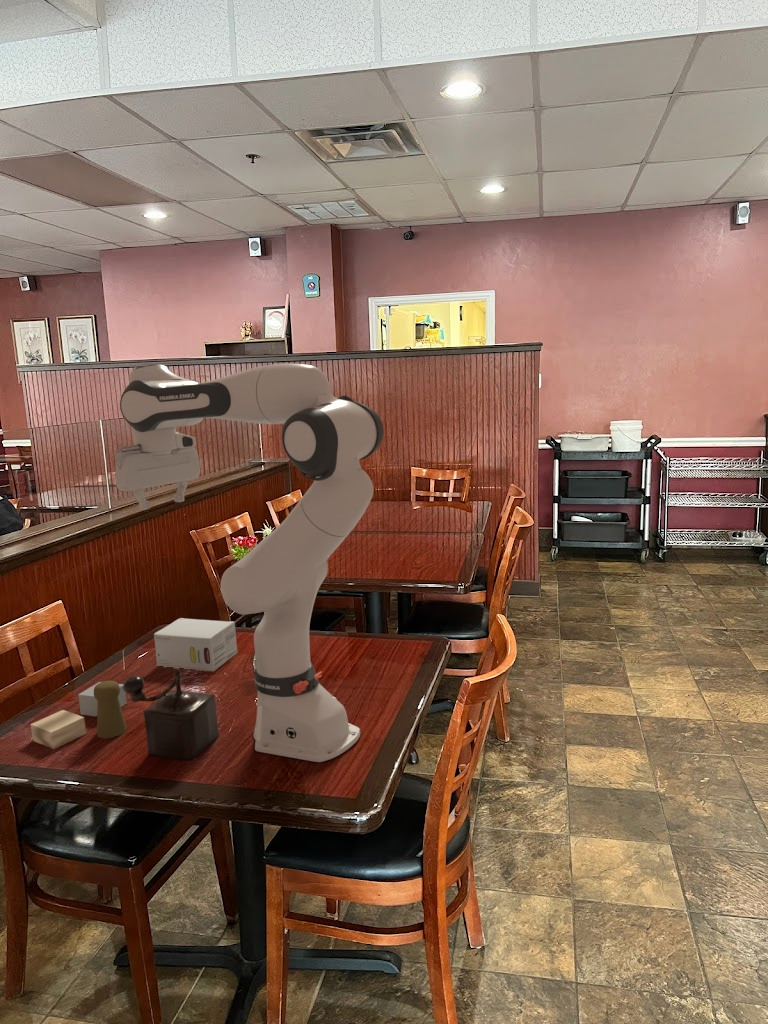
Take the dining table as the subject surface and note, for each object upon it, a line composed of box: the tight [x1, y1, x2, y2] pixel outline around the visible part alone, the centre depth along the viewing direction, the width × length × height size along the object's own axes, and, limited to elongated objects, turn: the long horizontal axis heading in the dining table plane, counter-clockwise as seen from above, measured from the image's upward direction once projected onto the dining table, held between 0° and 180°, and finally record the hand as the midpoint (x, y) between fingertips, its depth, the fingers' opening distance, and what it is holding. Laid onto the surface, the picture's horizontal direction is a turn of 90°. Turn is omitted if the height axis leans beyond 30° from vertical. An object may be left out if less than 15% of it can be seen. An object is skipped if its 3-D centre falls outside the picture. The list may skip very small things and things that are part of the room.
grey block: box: [77, 681, 128, 717], centre depth 164 cm, size 7×7×5 cm
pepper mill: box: [123, 668, 220, 761], centre depth 142 cm, size 16×11×18 cm
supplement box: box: [153, 617, 238, 672], centre depth 190 cm, size 17×13×9 cm
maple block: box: [30, 709, 87, 750], centre depth 151 cm, size 8×8×4 cm
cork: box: [94, 680, 128, 739], centre depth 152 cm, size 6×6×11 cm
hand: (162, 505), depth 157 cm, fingers open, 8 cm apart
